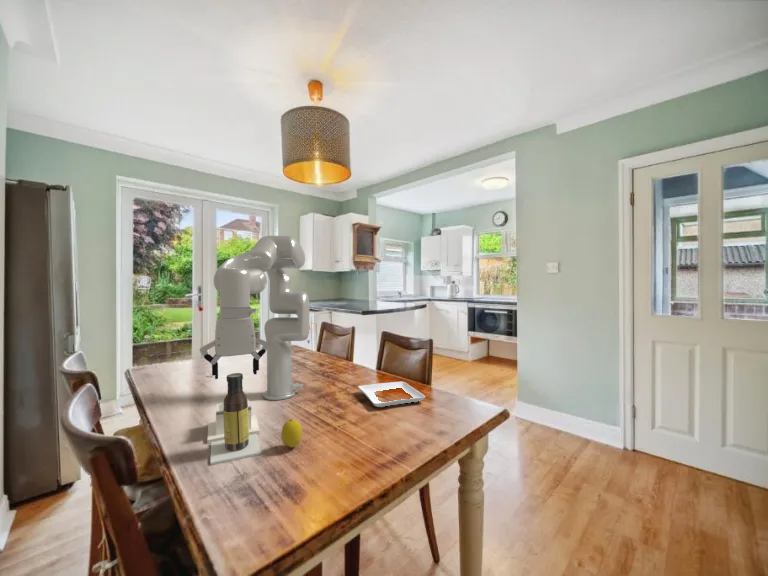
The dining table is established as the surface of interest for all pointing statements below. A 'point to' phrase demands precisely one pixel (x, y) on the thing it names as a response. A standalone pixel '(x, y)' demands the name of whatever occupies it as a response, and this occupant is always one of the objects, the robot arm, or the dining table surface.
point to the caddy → (218, 425)
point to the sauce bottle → (235, 414)
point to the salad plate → (372, 388)
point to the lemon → (291, 433)
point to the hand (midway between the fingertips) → (236, 375)
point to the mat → (224, 455)
